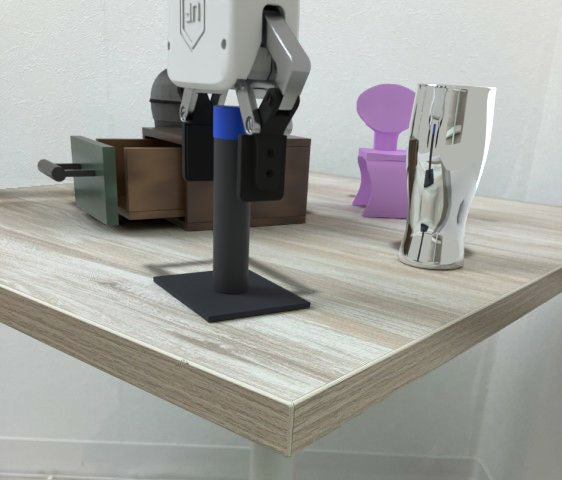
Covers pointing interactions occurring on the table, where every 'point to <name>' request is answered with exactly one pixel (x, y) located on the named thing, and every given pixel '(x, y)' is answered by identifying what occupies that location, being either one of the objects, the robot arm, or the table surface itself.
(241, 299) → the mat
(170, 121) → the beverage cup
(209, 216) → the cabinet
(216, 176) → the marker
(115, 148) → the drawer
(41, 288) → the table surface
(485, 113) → the beer glass
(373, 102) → the toy chair
